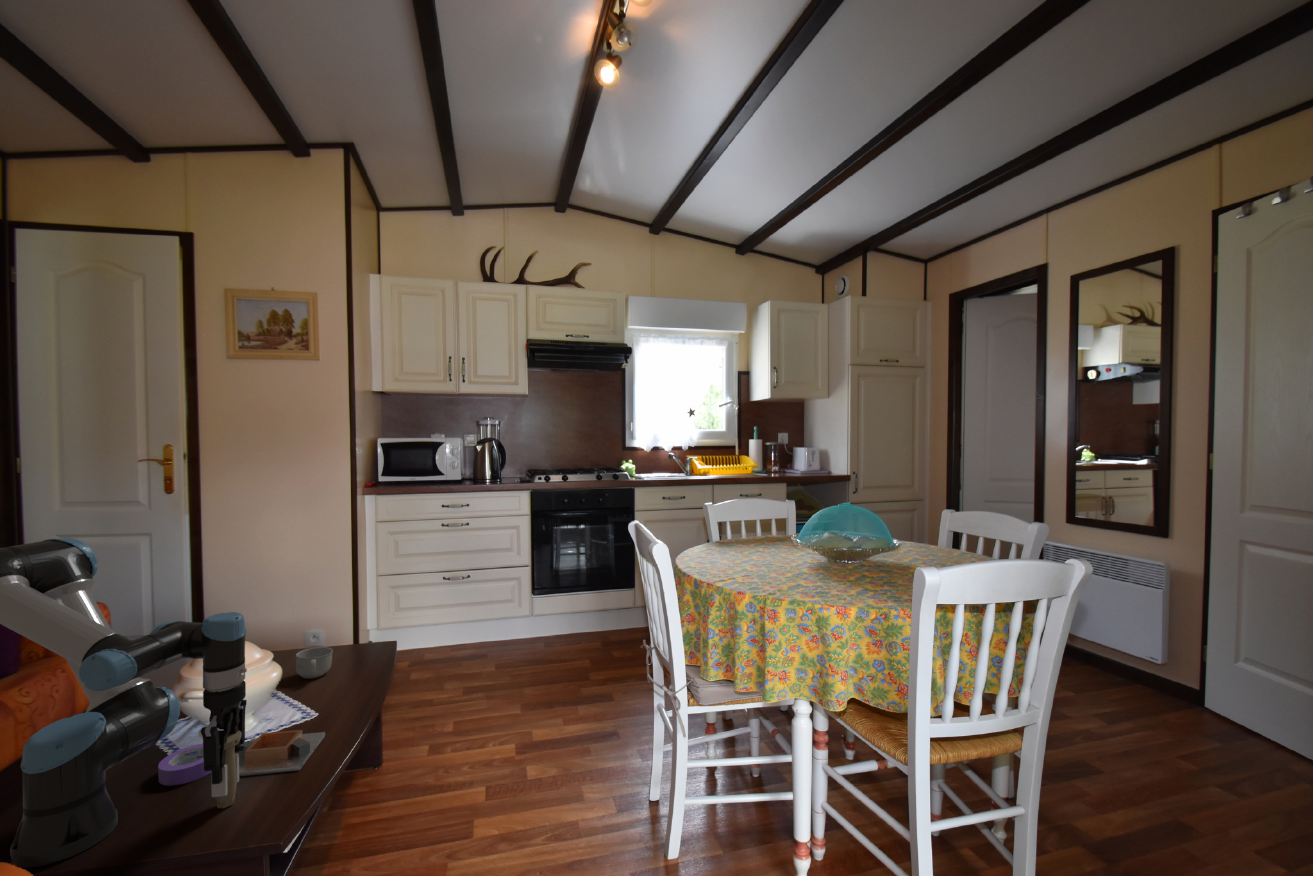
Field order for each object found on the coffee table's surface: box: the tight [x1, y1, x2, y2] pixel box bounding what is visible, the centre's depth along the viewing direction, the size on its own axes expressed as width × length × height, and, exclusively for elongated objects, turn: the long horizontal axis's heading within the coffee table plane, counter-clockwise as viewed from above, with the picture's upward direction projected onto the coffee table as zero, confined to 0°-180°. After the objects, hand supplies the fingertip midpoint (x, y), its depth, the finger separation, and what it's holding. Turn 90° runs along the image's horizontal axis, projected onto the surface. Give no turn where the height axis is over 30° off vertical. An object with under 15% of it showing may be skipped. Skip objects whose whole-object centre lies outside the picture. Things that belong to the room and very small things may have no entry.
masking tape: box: [157, 743, 211, 787], centre depth 138 cm, size 12×12×4 cm
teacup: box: [295, 646, 334, 679], centre depth 191 cm, size 14×11×8 cm
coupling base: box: [238, 729, 326, 777], centre depth 144 cm, size 18×16×4 cm
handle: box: [215, 731, 242, 810], centre depth 125 cm, size 5×6×15 cm
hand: (225, 788), depth 125 cm, fingers closed on handle, 4 cm apart
